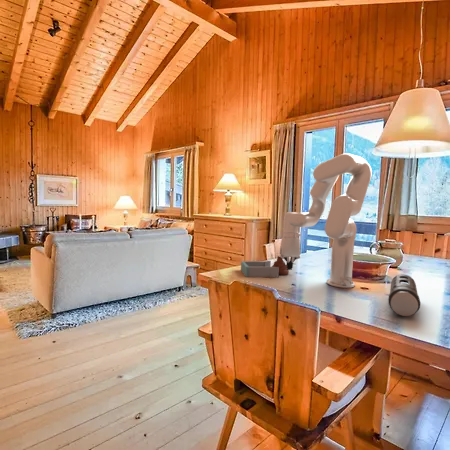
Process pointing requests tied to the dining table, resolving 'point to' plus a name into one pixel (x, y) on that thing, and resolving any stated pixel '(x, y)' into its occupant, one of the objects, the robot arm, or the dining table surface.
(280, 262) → the poop emoji
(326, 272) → the dining table surface
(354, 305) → the dining table surface
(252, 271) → the grey tray
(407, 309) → the muzzle brake
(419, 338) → the dining table surface
